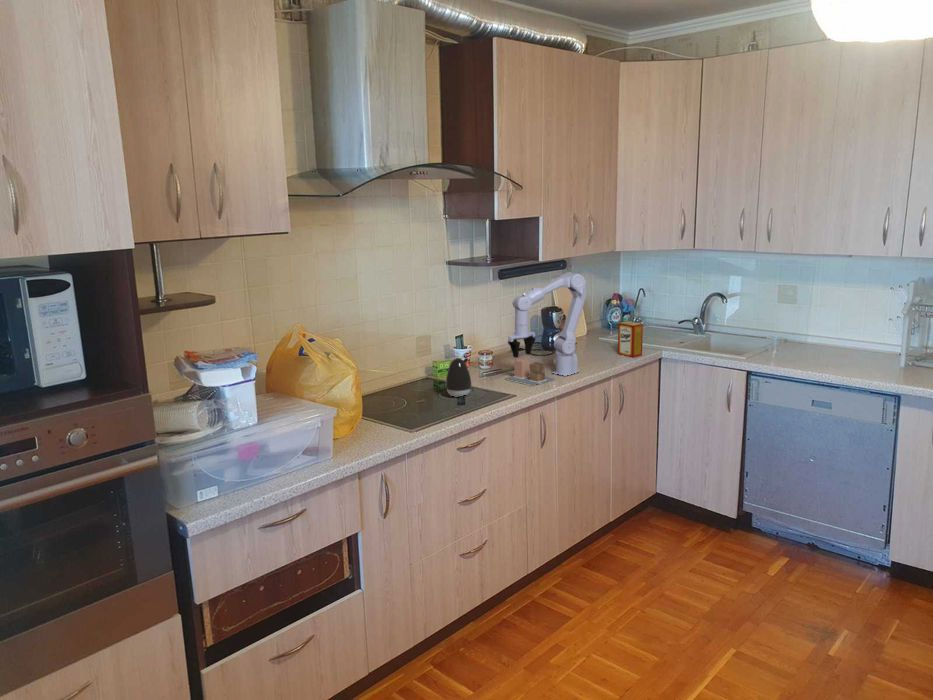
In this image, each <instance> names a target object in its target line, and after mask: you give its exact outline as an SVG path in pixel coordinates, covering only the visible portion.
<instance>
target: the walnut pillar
mask: <svg viewBox="0 0 933 700" xmlns="http://www.w3.org/2000/svg"><path fill="white" fill-rule="evenodd" d="M529 373H530V380H532V381H536V382H539V381H543V380H545V376H546V364H545V363H543V362H537V361H536V362H532V363H529Z"/></svg>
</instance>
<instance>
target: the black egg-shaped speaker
mask: <svg viewBox="0 0 933 700" xmlns="http://www.w3.org/2000/svg"><path fill="white" fill-rule="evenodd" d="M468 360H469V359H468V358H464V359H461V358H454V359H453V360H452V361H451V362H450V364H449V366H448V370H447V374H446V377H445V379H446V380H445V389H446V391H447V393H448V394H449V396H451V397H452V396H454V397H453V398H456V397H458V396H463V395H466V396H467V395H469V393H470V392H471V388H472V380H471V374H470V372H469V368H468V366H467V364H466V363H467V362H468Z"/></svg>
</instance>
